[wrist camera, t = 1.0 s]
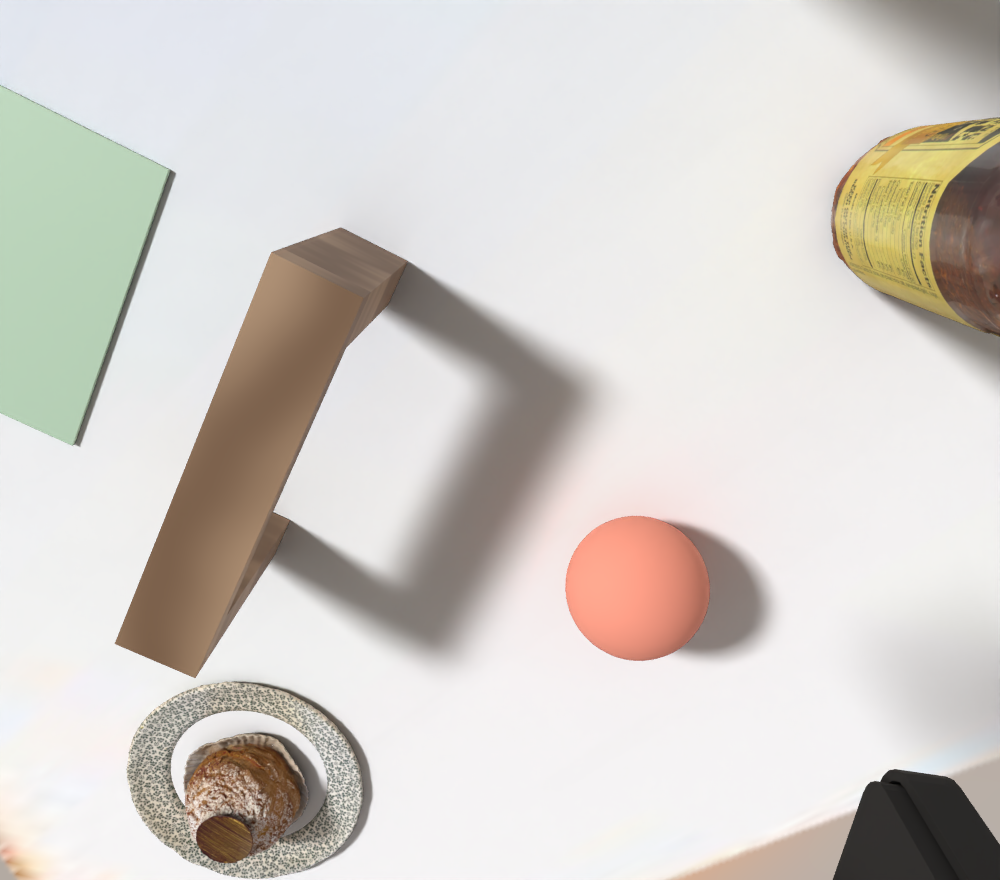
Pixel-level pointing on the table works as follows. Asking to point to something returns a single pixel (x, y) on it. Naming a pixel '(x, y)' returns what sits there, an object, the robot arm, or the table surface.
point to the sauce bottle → (928, 220)
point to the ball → (637, 588)
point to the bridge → (253, 444)
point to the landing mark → (64, 258)
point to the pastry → (243, 785)
